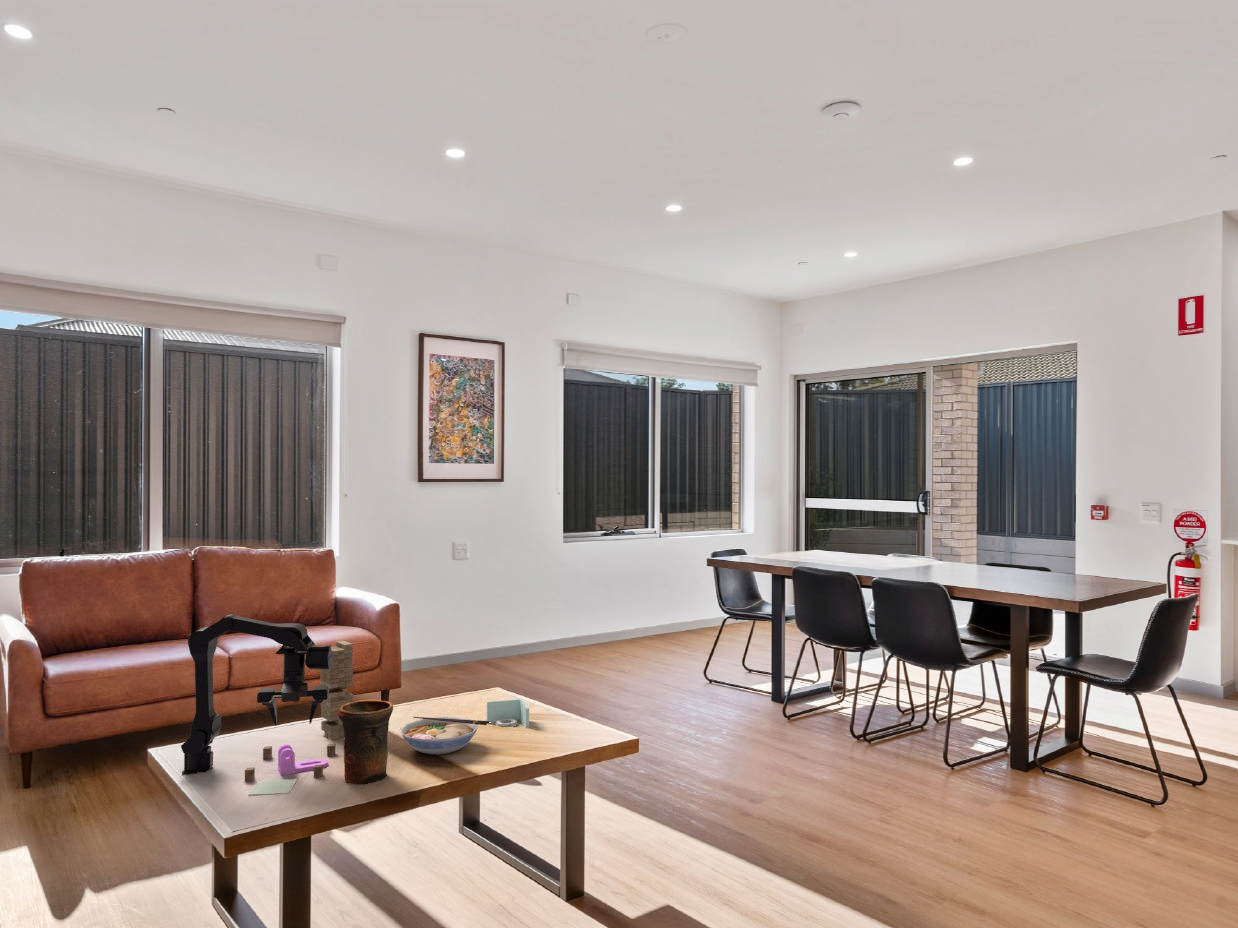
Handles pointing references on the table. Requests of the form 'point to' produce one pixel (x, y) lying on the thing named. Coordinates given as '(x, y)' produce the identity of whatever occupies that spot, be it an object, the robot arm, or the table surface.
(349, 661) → the block tower
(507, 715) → the right angle wall
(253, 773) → the tiny cardboard boxes
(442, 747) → the ramen bowl
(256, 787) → the felt pad
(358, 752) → the vessel
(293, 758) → the bracket
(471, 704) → the table surface
